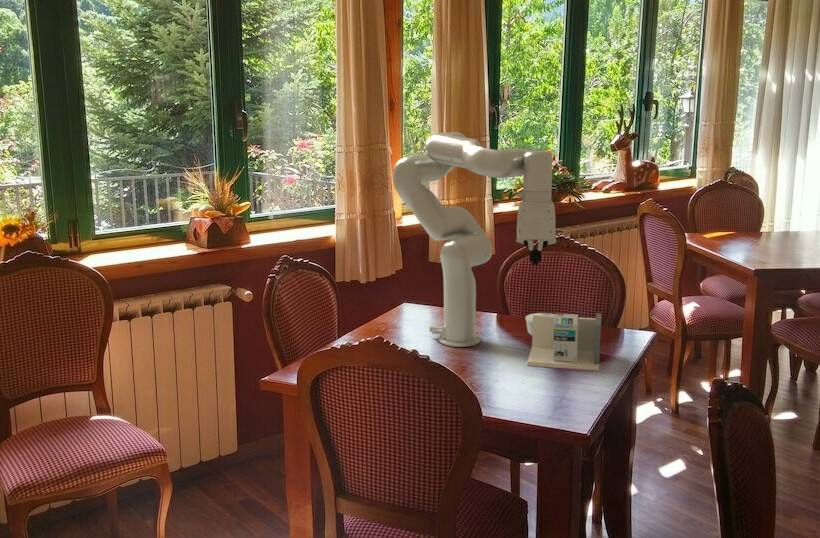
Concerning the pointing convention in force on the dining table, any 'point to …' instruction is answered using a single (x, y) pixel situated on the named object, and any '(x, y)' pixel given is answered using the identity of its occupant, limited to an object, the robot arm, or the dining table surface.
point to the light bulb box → (565, 337)
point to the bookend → (597, 338)
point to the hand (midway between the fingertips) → (535, 264)
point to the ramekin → (530, 321)
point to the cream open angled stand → (545, 338)
